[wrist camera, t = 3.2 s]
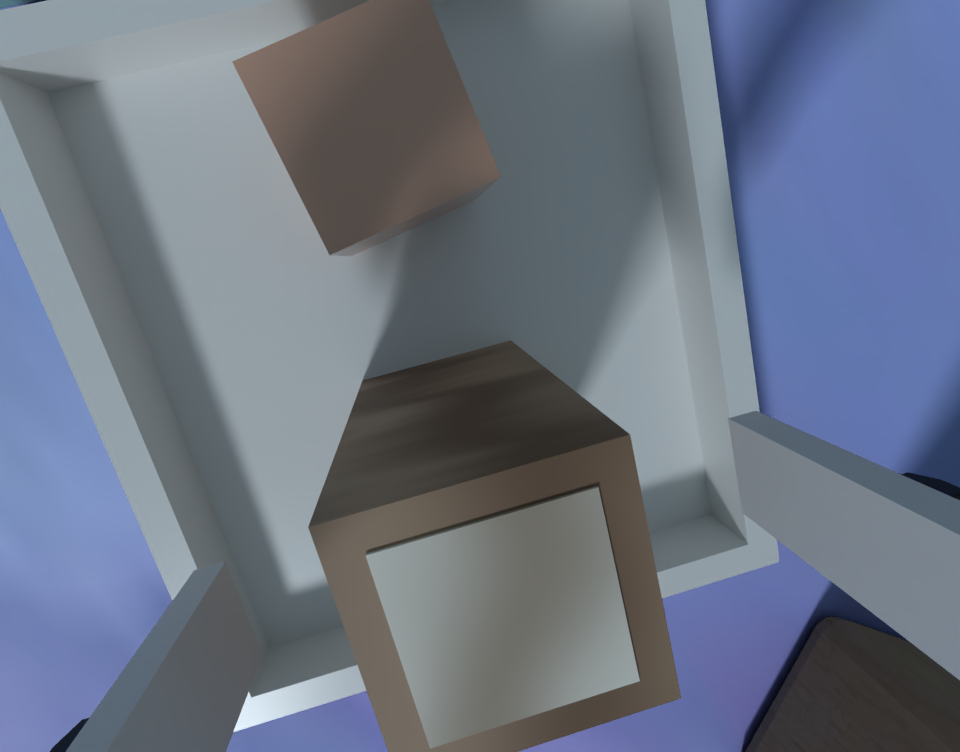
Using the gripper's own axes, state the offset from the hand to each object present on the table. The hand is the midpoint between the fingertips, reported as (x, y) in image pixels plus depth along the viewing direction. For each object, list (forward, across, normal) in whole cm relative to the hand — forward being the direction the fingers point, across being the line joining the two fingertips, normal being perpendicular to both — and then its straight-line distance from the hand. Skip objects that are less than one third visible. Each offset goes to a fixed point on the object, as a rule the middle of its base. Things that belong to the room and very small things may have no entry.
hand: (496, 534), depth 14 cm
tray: (+9, 0, +4) cm, 10 cm away
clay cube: (+9, 0, +11) cm, 14 cm away
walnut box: (+9, 0, 0) cm, 9 cm away
